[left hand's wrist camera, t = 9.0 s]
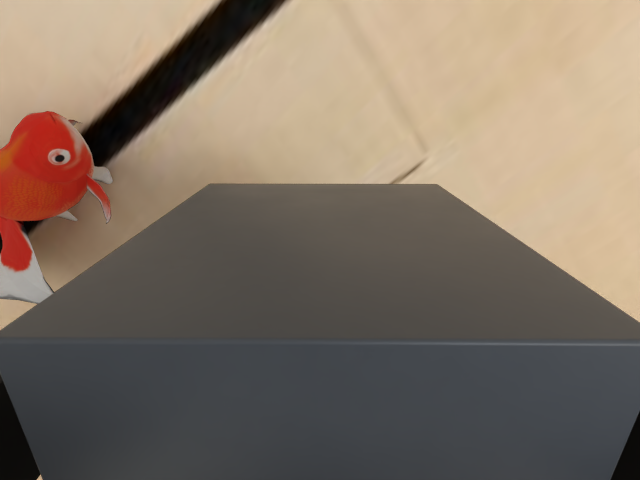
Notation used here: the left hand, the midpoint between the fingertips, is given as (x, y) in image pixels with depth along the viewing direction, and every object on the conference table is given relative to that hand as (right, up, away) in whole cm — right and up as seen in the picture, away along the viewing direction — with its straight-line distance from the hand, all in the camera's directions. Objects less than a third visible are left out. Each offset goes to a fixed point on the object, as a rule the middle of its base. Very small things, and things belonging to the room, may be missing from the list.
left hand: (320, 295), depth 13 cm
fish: (-19, +5, +13) cm, 23 cm away
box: (0, -7, +5) cm, 8 cm away
